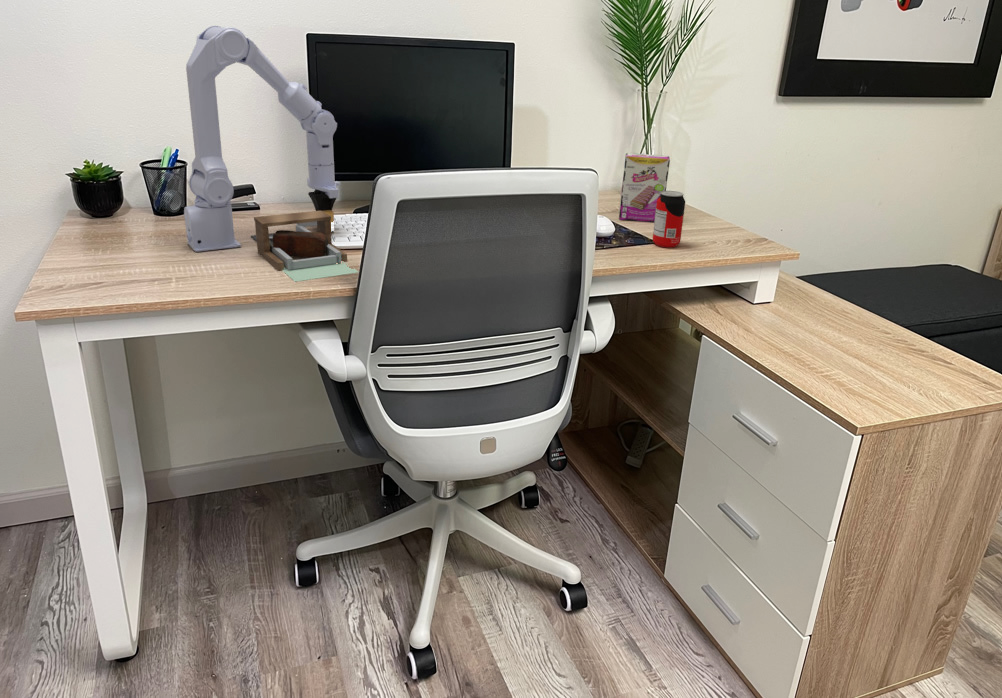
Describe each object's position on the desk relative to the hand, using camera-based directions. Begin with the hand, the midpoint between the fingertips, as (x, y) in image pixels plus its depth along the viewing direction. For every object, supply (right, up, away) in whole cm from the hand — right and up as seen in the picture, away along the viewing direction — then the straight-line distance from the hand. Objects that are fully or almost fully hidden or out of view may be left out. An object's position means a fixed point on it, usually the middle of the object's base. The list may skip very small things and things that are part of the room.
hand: (324, 222), depth 181 cm
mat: (+5, -14, -27) cm, 31 cm away
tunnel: (0, -10, -20) cm, 22 cm away
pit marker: (-10, -5, -8) cm, 13 cm away
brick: (0, -10, -20) cm, 22 cm away
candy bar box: (+77, +4, +20) cm, 80 cm away
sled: (+1, -8, -14) cm, 16 cm away
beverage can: (+79, -6, -2) cm, 79 cm away
